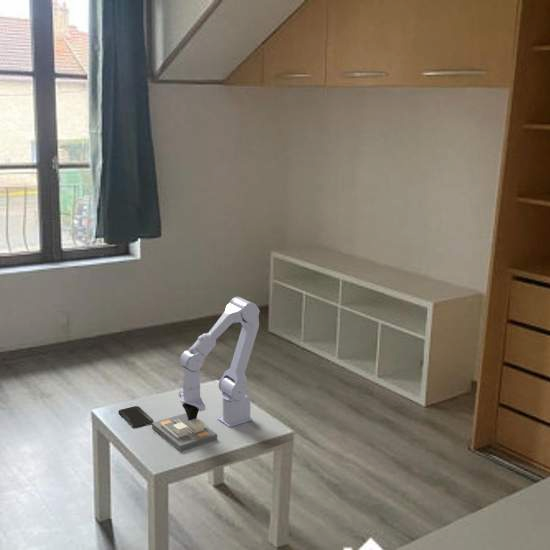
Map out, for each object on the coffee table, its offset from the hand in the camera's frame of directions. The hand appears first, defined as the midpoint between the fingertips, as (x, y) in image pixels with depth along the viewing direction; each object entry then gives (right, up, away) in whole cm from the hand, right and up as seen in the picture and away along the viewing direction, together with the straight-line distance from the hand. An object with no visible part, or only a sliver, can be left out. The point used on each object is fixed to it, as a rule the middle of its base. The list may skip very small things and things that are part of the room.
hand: (192, 422), depth 246 cm
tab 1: (-3, -3, -5) cm, 7 cm away
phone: (-21, -1, +11) cm, 24 cm away
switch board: (-3, -4, -1) cm, 5 cm away
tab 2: (+2, -2, -2) cm, 3 cm away
